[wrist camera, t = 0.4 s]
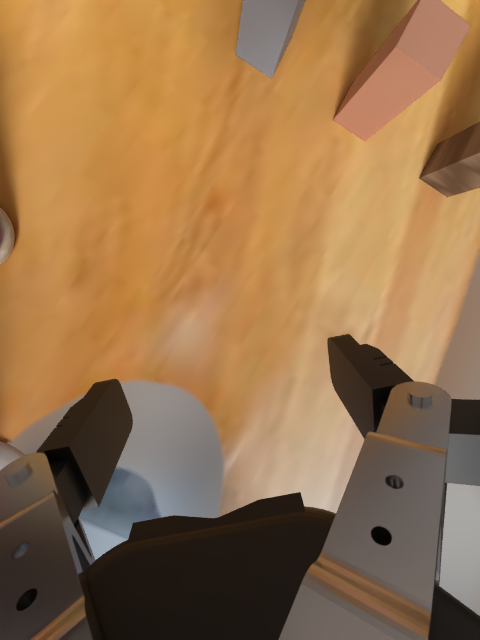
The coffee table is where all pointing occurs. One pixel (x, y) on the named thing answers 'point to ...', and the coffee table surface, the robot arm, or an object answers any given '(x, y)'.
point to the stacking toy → (5, 236)
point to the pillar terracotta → (403, 67)
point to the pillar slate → (266, 31)
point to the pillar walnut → (455, 163)
